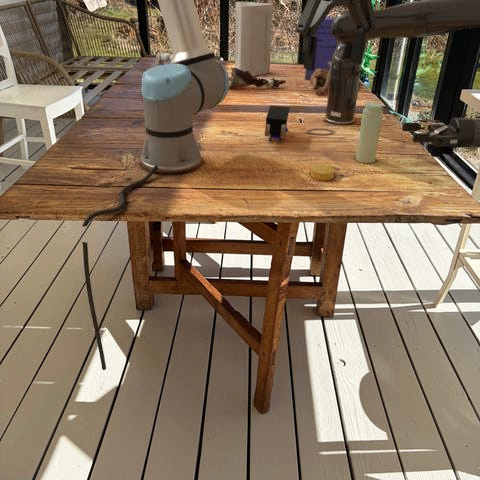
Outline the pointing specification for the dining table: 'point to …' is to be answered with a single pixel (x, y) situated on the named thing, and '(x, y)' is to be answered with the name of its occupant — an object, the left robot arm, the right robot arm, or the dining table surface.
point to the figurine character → (276, 122)
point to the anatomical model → (321, 80)
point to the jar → (369, 132)
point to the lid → (322, 172)
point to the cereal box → (323, 47)
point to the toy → (163, 58)
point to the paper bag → (253, 37)
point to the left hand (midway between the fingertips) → (333, 66)
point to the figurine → (250, 80)
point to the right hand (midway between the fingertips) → (407, 132)
